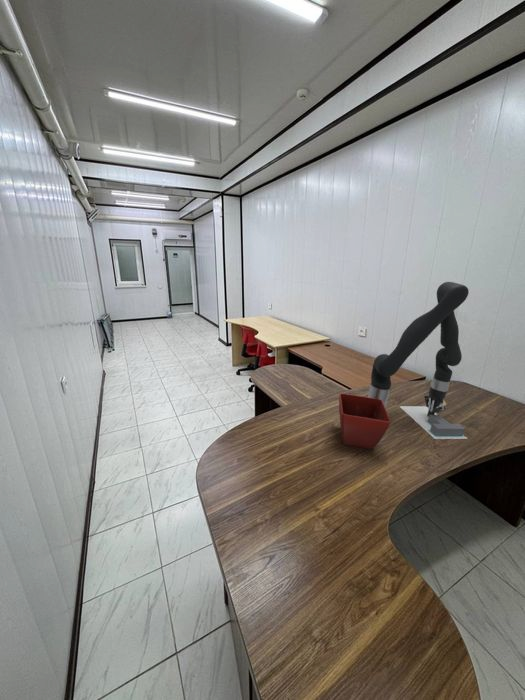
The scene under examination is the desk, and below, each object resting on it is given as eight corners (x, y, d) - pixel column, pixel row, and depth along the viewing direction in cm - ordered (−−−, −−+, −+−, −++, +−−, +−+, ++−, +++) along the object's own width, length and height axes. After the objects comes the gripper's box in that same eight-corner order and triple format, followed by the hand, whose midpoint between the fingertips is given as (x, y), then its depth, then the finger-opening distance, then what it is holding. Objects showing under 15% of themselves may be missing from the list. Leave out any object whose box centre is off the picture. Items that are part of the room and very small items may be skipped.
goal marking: (435, 437, 130) (435, 437, 129) (416, 420, 143) (416, 420, 143) (465, 437, 131) (466, 437, 131) (444, 420, 145) (444, 420, 145)
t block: (435, 435, 131) (437, 428, 129) (419, 421, 142) (421, 414, 141) (462, 435, 132) (464, 428, 131) (444, 421, 144) (446, 414, 142)
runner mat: (434, 439, 129) (434, 438, 128) (399, 406, 156) (399, 406, 156) (467, 439, 131) (467, 438, 130) (426, 406, 158) (427, 406, 158)
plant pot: (382, 456, 114) (391, 422, 109) (335, 448, 118) (342, 414, 112) (374, 430, 132) (381, 399, 127) (333, 423, 135) (339, 392, 130)
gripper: (423, 381, 144) (415, 410, 150) (441, 393, 132) (432, 424, 138) (436, 381, 145) (428, 410, 151) (455, 393, 133) (445, 424, 139)
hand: (430, 416), depth 144 cm, fingers closed
